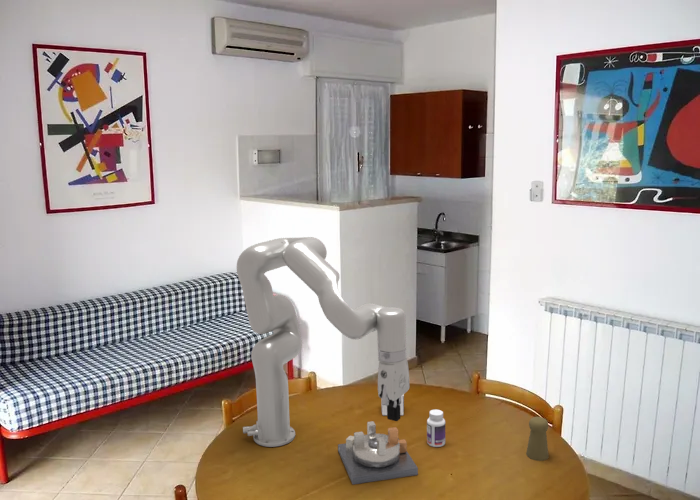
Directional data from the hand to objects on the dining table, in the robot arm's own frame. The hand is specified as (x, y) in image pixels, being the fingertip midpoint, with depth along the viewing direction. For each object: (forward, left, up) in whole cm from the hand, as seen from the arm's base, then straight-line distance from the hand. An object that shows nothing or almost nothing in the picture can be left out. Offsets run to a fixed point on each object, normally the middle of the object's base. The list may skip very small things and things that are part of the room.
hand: (393, 419), depth 163 cm
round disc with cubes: (-3, +4, -12) cm, 13 cm away
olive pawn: (+41, -4, -15) cm, 44 cm away
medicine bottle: (+10, +34, -15) cm, 38 cm away
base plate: (-4, +4, -14) cm, 15 cm away
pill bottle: (+16, +10, -15) cm, 24 cm away
